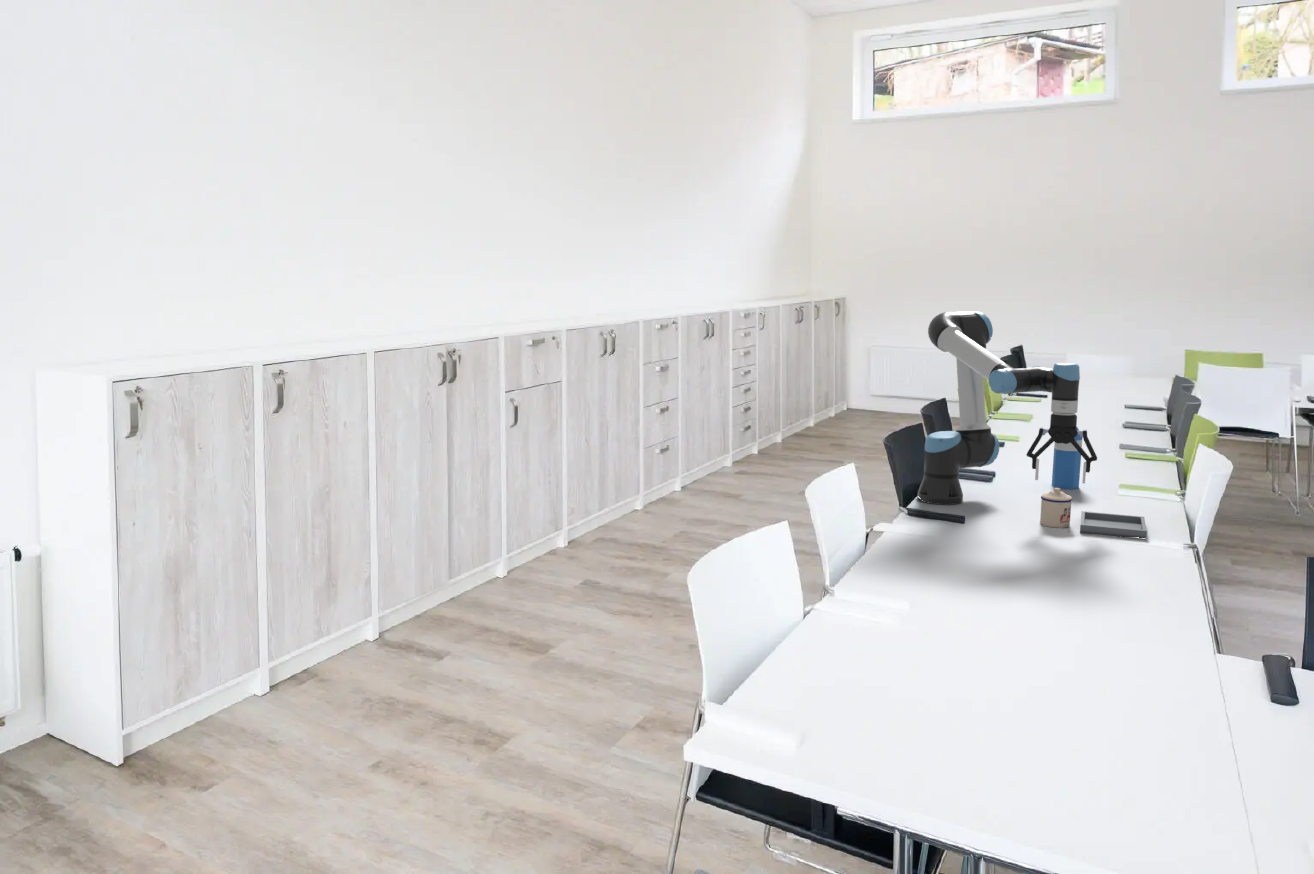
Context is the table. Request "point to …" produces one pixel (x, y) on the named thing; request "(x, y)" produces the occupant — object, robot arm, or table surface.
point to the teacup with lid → (1055, 509)
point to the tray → (1112, 525)
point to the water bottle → (1066, 465)
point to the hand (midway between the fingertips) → (1059, 481)
